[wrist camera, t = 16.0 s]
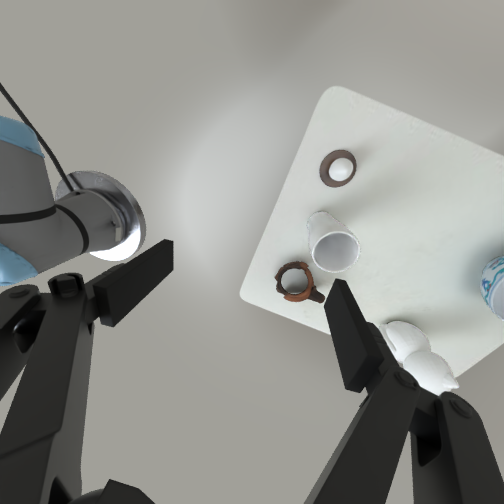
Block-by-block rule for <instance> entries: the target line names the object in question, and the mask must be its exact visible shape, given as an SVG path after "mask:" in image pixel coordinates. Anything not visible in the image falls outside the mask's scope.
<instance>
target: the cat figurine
mask: <svg viewBox="0 0 504 504" xmlns="http://www.w3.org/2000/svg"><path fill="white" fill-rule="evenodd" d="M379 330H380V332H381V334H382V335H383V337H384V339H385V341H386V343H387V345H388V346H389V348H390V350H391V352H392V354H393V355H394V357H395V359H396V360H398V361H399V362H402V363H404V369H405V370H406V371H408V372H409V373H410V374H411V375H413V376H414V378H415V379H416V380H417V381H418V383H419V385H420V387H422V388H424V389H426V390H428V391H430V392H432V393H434V394H436V395H440V394H441V393H442V392H444V391H448V392H450V391H451V389H452V388H459V384H458V382H457V381H456V379H455V378H454V376H453V373H452V371H451V368H450V366H449V365H448V363H447V362H446V361H445V360H444V359H443V358H442V357H441V356H439V355H438V354H436V353H433V352H431V346H430V343H429V340H428V338H427V337H426V335H425V334H424V333H423V332H422V331H421V330H420V329H419V328H417V327H416V326H414V325H412V324H409V323H406V322H403V321H393V322H390V323H388V324H381V325H380V326H379Z"/></svg>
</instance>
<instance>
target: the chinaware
mask: <svg viewBox="0 0 504 504" xmlns="http://www.w3.org/2000/svg"><path fill="white" fill-rule="evenodd" d="M480 289H481V293H482V296H483V298H484V300H485V302H486V304H487V305H488V306H489V308H490V309H491V310H492V311H493V312H494V313H495V314H496V315H497V316H498V317H499V318H500V319H502V320H504V256H500V257H497V258H495V259H493V260H492V261H490V262H489V263H488V264H487V265H486V266H485V268H484V270H483V276H482V278H481V283H480Z"/></svg>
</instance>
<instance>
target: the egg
mask: <svg viewBox="0 0 504 504" xmlns="http://www.w3.org/2000/svg"><path fill="white" fill-rule="evenodd" d="M352 171H353V164H352V162H351V161H350V160H348V159H346V158H339V159H336V160H335V161H334V162H333V163H332V164H331V166H330V169H329V175H330V177H331V178H332V179H334V180H336V181H343V180H345V179H347V178H348V177H349V176H350V175H351V173H352Z"/></svg>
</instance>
